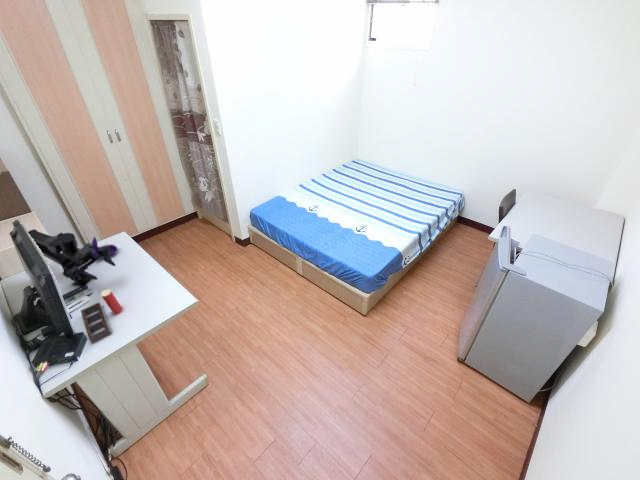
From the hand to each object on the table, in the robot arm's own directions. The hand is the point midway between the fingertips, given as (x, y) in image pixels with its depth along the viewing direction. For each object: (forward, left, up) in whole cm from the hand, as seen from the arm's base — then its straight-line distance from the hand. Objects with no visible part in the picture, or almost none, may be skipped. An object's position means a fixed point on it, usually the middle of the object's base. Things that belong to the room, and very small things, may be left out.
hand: (106, 271), depth 132 cm
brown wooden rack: (+1, -17, -16) cm, 23 cm away
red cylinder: (+5, -9, -16) cm, 19 cm away
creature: (-28, +24, -16) cm, 40 cm away
